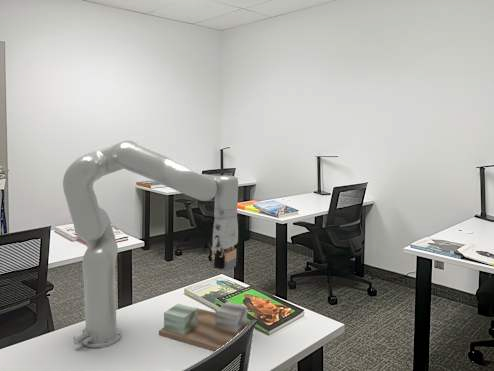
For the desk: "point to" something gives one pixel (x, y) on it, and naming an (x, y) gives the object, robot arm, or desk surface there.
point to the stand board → (204, 324)
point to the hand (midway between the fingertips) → (223, 264)
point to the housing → (227, 258)
